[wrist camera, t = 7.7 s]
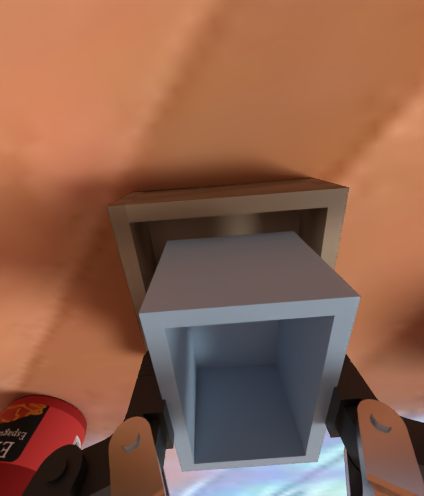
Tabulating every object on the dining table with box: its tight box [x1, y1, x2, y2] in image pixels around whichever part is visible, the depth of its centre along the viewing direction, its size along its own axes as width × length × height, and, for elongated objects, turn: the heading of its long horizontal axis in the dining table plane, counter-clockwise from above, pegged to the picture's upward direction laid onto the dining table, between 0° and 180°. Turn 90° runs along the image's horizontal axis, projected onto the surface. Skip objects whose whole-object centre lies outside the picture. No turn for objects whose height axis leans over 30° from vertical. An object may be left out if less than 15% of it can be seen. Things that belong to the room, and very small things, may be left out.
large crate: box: [107, 178, 349, 352], centre depth 14 cm, size 14×11×4 cm
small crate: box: [139, 231, 361, 472], centre depth 10 cm, size 9×6×5 cm, turn 4°
